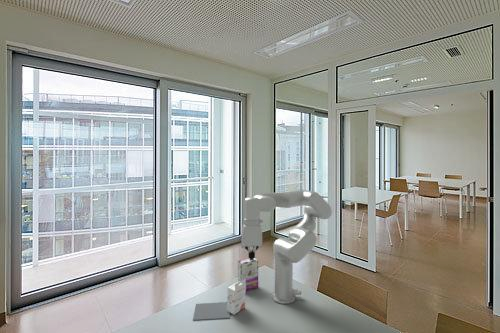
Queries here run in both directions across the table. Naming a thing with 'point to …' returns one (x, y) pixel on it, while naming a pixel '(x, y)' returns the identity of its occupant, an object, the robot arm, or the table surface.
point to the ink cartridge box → (236, 297)
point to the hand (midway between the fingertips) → (251, 259)
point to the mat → (211, 311)
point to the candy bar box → (248, 272)
